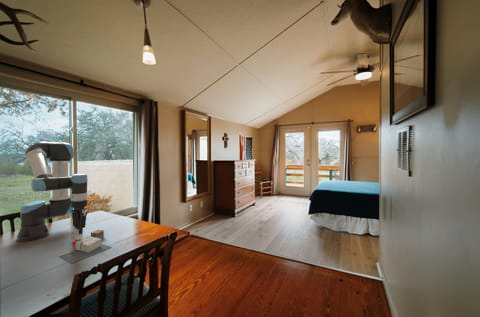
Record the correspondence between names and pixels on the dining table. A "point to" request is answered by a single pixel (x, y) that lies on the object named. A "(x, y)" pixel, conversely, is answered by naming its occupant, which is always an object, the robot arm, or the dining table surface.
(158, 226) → the dining table surface
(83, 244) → the ink box
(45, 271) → the dining table surface
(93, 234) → the walnut block
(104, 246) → the mat
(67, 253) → the oak strip
